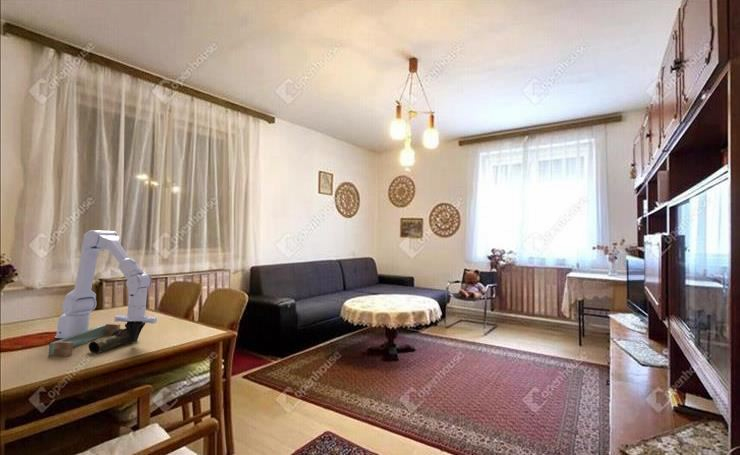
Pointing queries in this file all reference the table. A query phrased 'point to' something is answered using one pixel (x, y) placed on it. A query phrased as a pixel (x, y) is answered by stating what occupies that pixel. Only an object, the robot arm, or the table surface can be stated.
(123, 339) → the metal pipe
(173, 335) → the table surface
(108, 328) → the dock
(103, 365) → the table surface
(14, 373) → the table surface
